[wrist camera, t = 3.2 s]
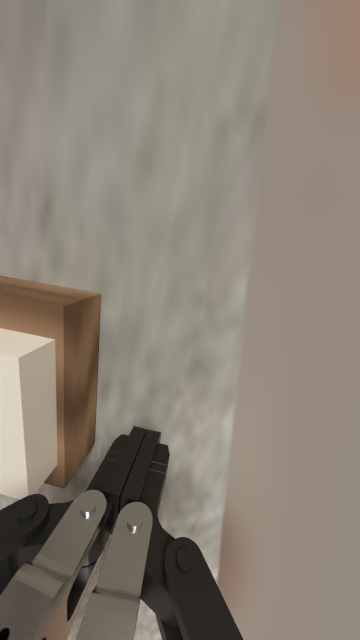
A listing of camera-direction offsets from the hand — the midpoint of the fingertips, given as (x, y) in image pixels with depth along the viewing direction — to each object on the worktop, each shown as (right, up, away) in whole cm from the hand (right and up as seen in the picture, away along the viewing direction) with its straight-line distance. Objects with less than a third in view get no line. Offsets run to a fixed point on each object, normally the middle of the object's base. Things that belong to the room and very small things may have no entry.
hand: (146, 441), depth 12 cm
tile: (-9, +2, +2) cm, 9 cm away
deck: (-9, +3, +6) cm, 11 cm away
